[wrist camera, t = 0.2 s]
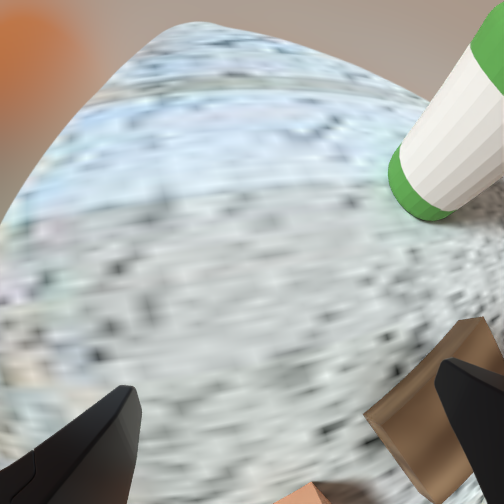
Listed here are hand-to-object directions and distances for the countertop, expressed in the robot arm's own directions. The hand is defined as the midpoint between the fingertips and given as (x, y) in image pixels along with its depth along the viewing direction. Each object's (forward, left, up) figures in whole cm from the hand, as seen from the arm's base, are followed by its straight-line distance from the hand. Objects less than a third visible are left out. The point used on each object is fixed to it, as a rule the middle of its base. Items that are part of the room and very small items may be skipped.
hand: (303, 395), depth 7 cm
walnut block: (-15, -9, -15) cm, 23 cm away
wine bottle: (+3, -20, -15) cm, 25 cm away
